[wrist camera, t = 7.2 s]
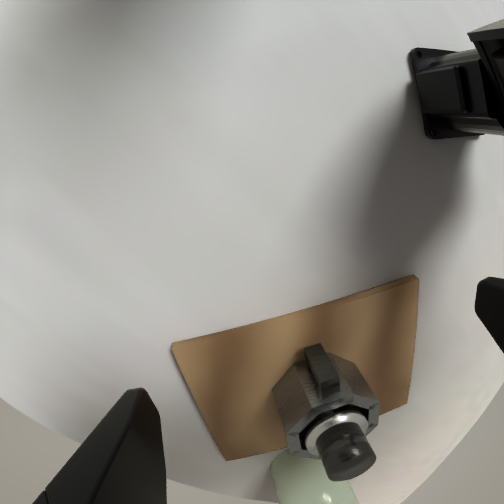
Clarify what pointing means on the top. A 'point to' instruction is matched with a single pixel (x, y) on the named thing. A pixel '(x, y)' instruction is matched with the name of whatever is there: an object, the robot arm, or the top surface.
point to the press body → (320, 395)
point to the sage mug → (307, 482)
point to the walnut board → (291, 351)
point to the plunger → (341, 444)
